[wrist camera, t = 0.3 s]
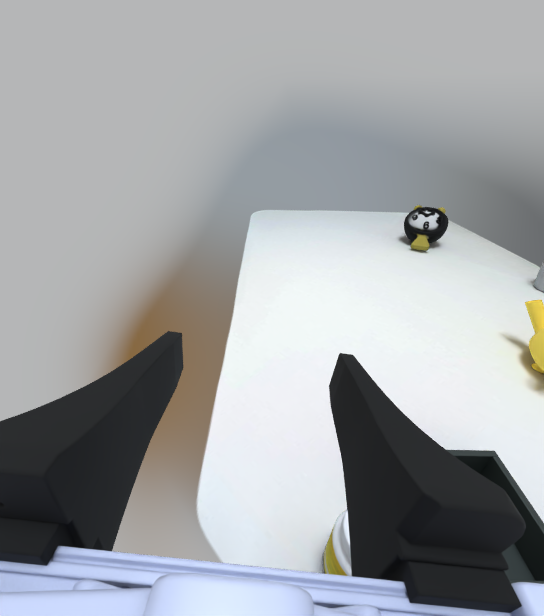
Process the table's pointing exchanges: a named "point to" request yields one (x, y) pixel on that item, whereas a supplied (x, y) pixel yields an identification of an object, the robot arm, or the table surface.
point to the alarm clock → (425, 226)
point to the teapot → (537, 333)
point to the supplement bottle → (338, 549)
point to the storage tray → (537, 536)
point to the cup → (540, 279)
